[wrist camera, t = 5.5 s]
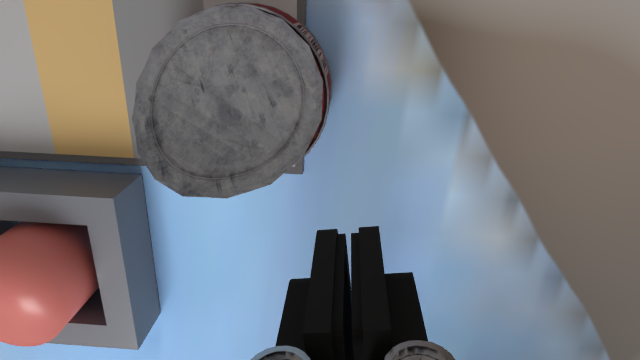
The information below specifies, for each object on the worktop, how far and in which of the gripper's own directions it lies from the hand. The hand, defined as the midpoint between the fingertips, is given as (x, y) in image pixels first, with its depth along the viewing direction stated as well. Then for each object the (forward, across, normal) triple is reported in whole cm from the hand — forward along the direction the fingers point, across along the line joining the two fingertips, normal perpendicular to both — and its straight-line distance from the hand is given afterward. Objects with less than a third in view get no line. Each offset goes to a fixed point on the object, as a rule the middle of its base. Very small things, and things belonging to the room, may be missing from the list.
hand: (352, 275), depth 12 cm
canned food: (+17, +6, -2) cm, 18 cm away
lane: (+17, +14, -4) cm, 23 cm away
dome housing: (+17, +22, +8) cm, 29 cm away
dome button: (+16, +22, +8) cm, 28 cm away
